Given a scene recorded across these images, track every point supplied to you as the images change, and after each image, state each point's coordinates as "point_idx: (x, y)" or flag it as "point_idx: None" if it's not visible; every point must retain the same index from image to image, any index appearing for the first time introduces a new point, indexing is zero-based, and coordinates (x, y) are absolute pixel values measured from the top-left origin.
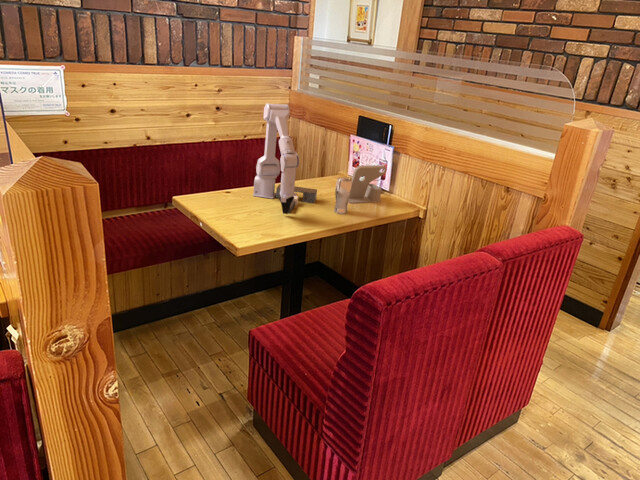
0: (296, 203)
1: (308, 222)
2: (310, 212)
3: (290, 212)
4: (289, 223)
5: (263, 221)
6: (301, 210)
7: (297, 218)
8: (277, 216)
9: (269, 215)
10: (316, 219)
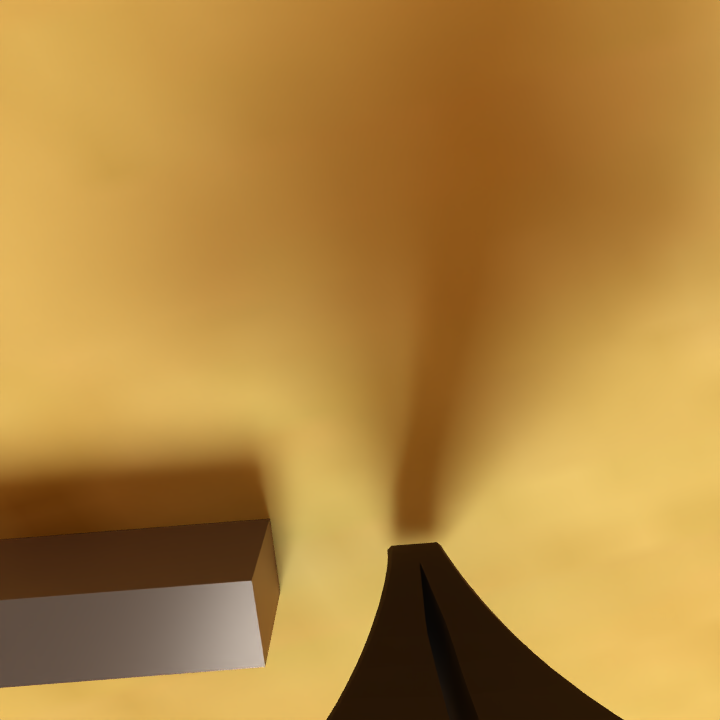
0: None
1: (539, 144)
2: (31, 236)
3: (247, 525)
4: (684, 418)
5: (710, 707)
6: (38, 403)
7: (430, 366)
8: None
9: None
10: (325, 30)
